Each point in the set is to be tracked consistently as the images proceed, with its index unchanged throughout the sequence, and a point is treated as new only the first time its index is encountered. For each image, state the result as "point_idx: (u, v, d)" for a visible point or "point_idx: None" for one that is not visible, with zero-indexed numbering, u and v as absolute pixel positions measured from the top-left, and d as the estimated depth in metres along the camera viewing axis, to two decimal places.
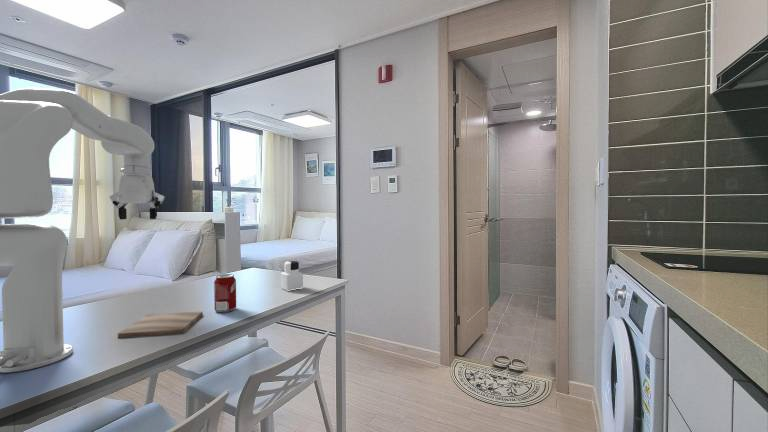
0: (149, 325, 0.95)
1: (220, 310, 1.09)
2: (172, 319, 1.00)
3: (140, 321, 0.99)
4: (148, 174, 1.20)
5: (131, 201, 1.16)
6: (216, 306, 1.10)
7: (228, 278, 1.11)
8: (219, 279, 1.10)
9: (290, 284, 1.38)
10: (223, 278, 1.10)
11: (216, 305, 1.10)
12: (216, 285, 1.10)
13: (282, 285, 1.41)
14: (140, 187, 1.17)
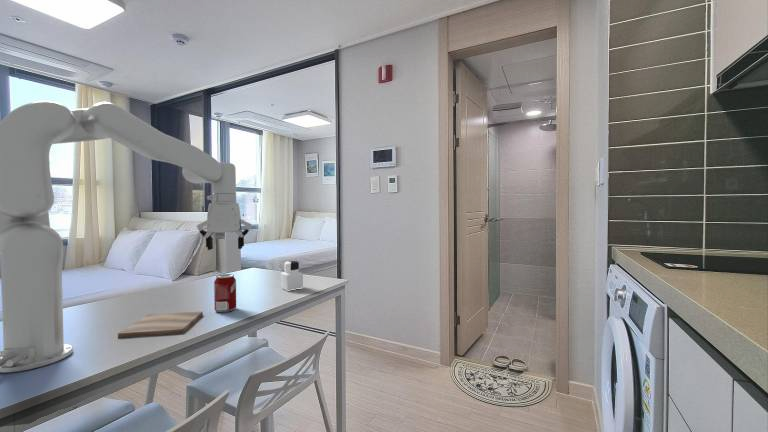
0: (149, 325, 0.95)
1: (220, 310, 1.09)
2: (172, 319, 1.00)
3: (140, 321, 0.99)
4: (235, 201, 1.13)
5: (220, 231, 1.09)
6: (216, 306, 1.10)
7: (228, 278, 1.11)
8: (219, 279, 1.10)
9: (290, 284, 1.38)
10: (223, 278, 1.10)
11: (216, 305, 1.10)
12: (216, 285, 1.10)
13: (282, 285, 1.41)
14: (229, 215, 1.10)
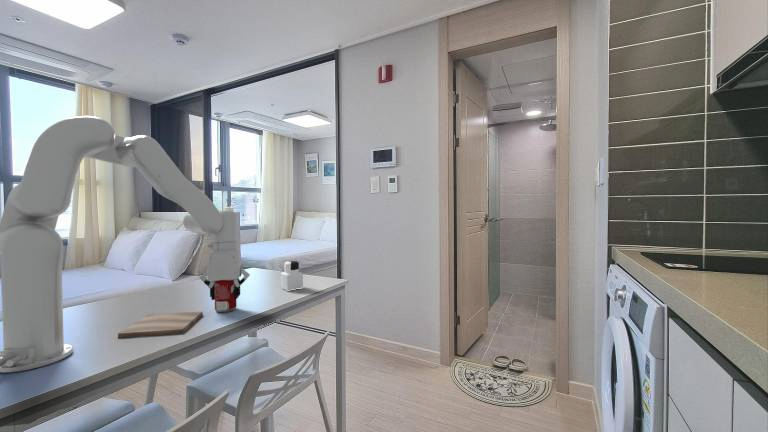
0: (149, 325, 0.95)
1: (220, 310, 1.09)
2: (172, 319, 1.00)
3: (140, 321, 0.99)
4: (236, 248, 1.13)
5: (220, 279, 1.10)
6: (216, 306, 1.10)
7: None
8: None
9: (290, 284, 1.38)
10: None
11: (216, 305, 1.10)
12: (216, 285, 1.10)
13: (282, 285, 1.41)
14: (229, 264, 1.10)
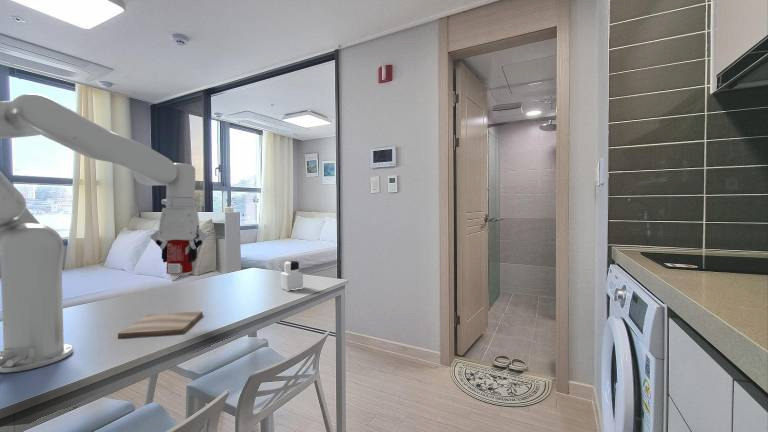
0: (149, 325, 0.95)
1: (172, 273, 0.98)
2: (172, 319, 1.00)
3: (140, 321, 0.99)
4: (193, 206, 1.02)
5: (173, 239, 0.98)
6: (168, 268, 0.98)
7: None
8: None
9: (290, 284, 1.38)
10: None
11: (168, 267, 0.98)
12: (169, 245, 0.98)
13: (282, 285, 1.41)
14: (184, 222, 0.99)
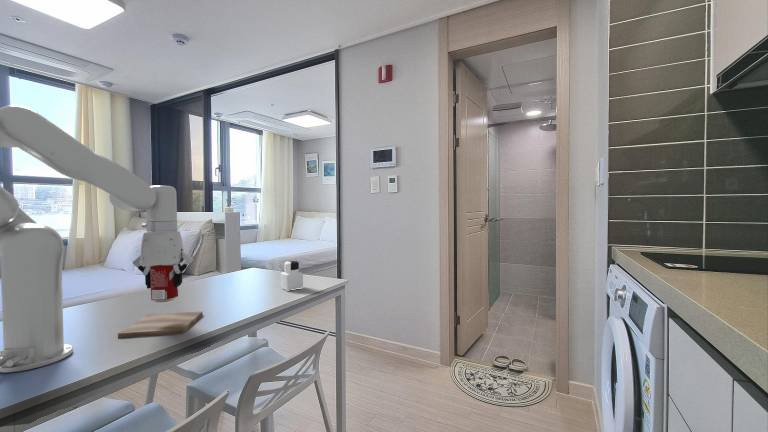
0: (149, 325, 0.95)
1: (156, 300, 0.95)
2: (172, 319, 1.00)
3: (140, 321, 0.99)
4: (176, 229, 0.98)
5: (156, 264, 0.95)
6: (152, 295, 0.95)
7: None
8: None
9: (290, 284, 1.38)
10: None
11: (152, 294, 0.95)
12: (151, 271, 0.95)
13: (282, 285, 1.41)
14: (167, 247, 0.96)
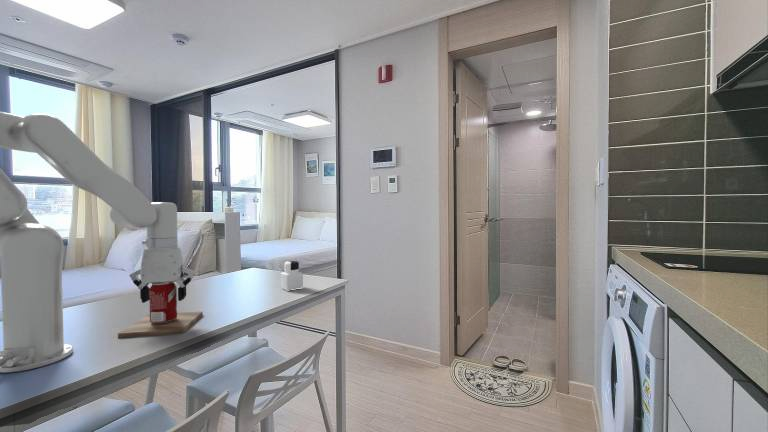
0: (149, 325, 0.95)
1: (155, 322, 0.95)
2: None
3: (140, 321, 0.99)
4: (176, 246, 0.98)
5: (156, 281, 0.95)
6: (151, 317, 0.95)
7: (165, 285, 0.96)
8: (154, 286, 0.95)
9: (290, 284, 1.38)
10: (159, 285, 0.95)
11: (151, 316, 0.95)
12: (151, 293, 0.95)
13: (282, 285, 1.41)
14: (167, 263, 0.96)
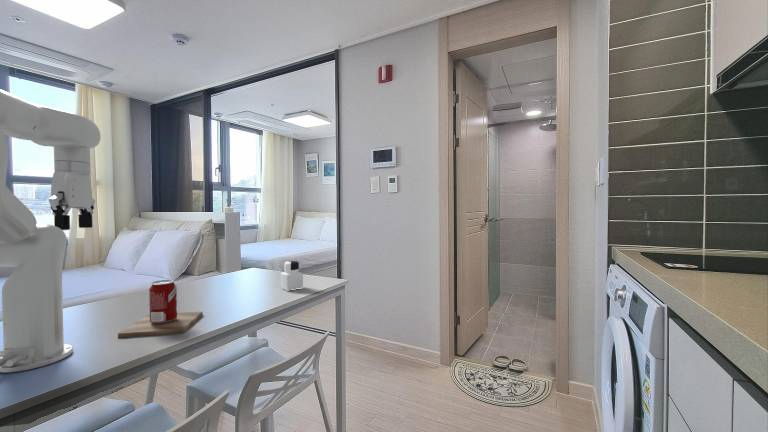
0: (149, 325, 0.95)
1: (155, 322, 0.95)
2: None
3: (140, 321, 0.99)
4: (63, 170, 0.90)
5: None
6: (151, 317, 0.95)
7: (165, 285, 0.96)
8: (154, 286, 0.95)
9: (290, 284, 1.38)
10: (159, 285, 0.95)
11: (151, 316, 0.95)
12: (151, 293, 0.95)
13: (282, 285, 1.41)
14: None
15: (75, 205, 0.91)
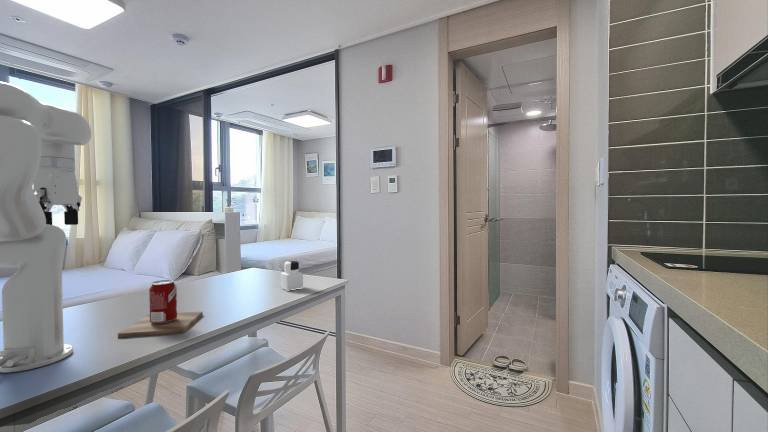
0: (149, 325, 0.95)
1: (155, 322, 0.95)
2: None
3: (140, 321, 0.99)
4: (46, 166, 0.89)
5: None
6: (151, 317, 0.95)
7: (165, 285, 0.96)
8: (154, 286, 0.95)
9: (290, 284, 1.38)
10: (159, 285, 0.95)
11: (151, 316, 0.95)
12: (151, 293, 0.95)
13: (282, 285, 1.41)
14: None
15: (58, 202, 0.91)
